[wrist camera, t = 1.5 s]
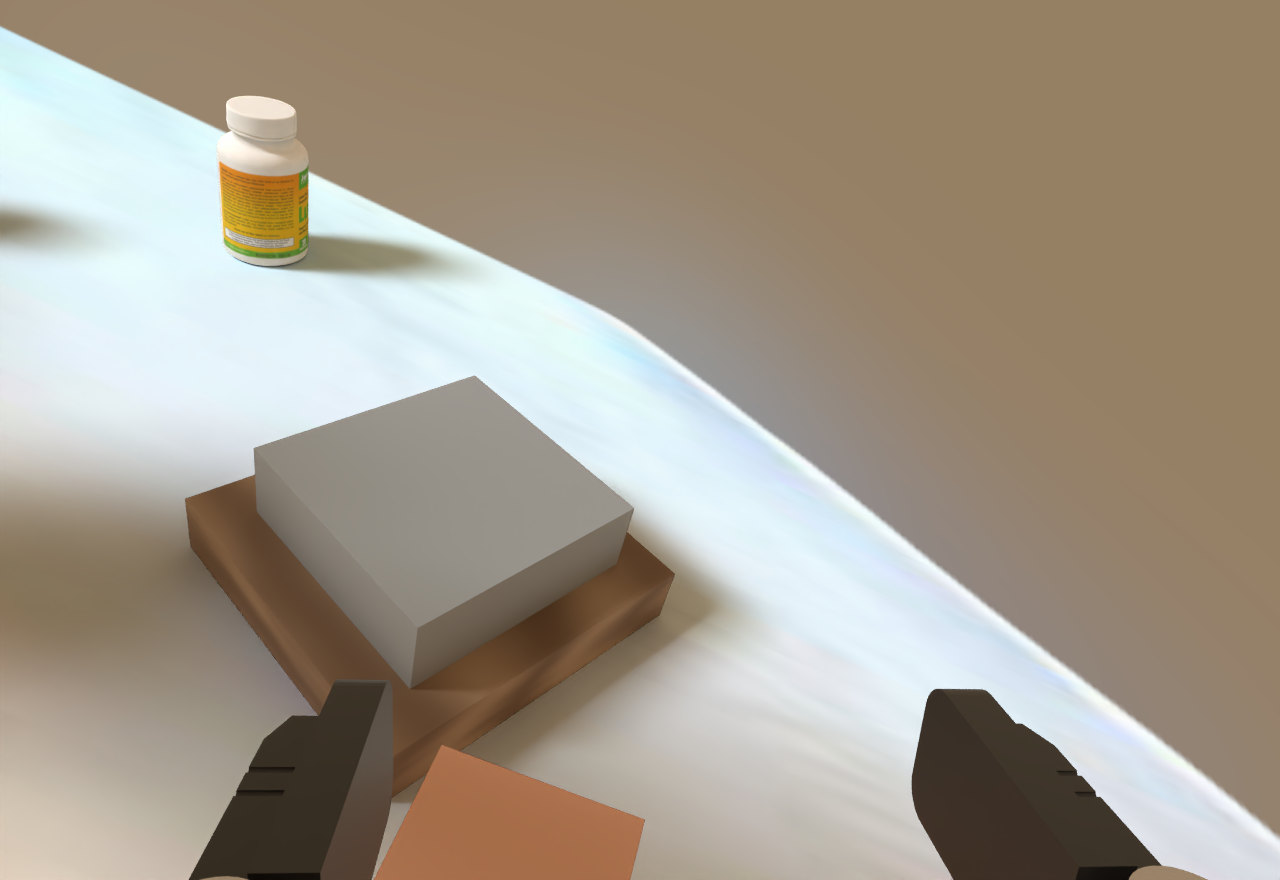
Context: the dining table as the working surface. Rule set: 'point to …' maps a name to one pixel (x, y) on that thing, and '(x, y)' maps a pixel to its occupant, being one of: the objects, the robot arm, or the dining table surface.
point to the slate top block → (438, 520)
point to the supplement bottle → (263, 183)
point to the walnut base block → (335, 649)
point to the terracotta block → (507, 829)
